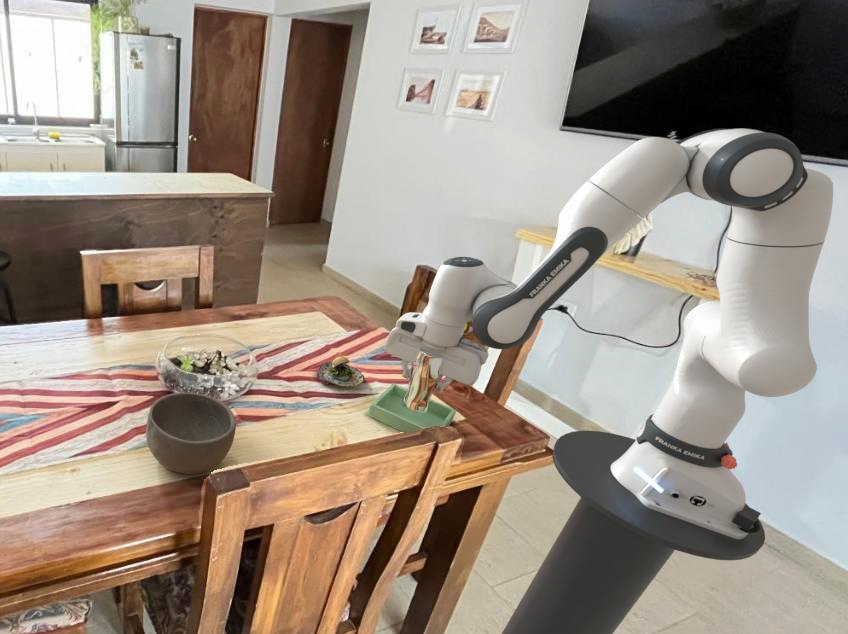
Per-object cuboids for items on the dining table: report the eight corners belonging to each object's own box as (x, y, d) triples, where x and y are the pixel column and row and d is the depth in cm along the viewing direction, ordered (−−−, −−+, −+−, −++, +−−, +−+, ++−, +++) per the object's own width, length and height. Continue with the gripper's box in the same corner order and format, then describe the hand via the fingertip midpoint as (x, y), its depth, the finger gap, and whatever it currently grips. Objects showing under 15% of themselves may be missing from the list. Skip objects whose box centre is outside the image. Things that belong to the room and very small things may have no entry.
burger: (322, 390, 129) (328, 364, 125) (312, 365, 139) (318, 341, 136) (368, 393, 130) (376, 368, 126) (355, 369, 140) (362, 345, 137)
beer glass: (397, 395, 124) (415, 340, 117) (427, 400, 123) (446, 345, 116) (401, 411, 118) (419, 354, 111) (432, 417, 117) (453, 360, 110)
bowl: (213, 423, 113) (218, 385, 108) (244, 479, 98) (251, 438, 93) (135, 433, 107) (137, 393, 102) (155, 495, 92) (158, 451, 88)
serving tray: (452, 420, 122) (456, 410, 121) (433, 446, 113) (438, 435, 111) (389, 393, 131) (393, 383, 129) (367, 415, 121) (370, 404, 120)
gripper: (495, 343, 108) (473, 397, 114) (400, 310, 118) (385, 361, 125) (487, 353, 103) (465, 409, 110) (390, 318, 114) (374, 371, 120)
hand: (421, 383), depth 117 cm, fingers closed on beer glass, 6 cm apart
